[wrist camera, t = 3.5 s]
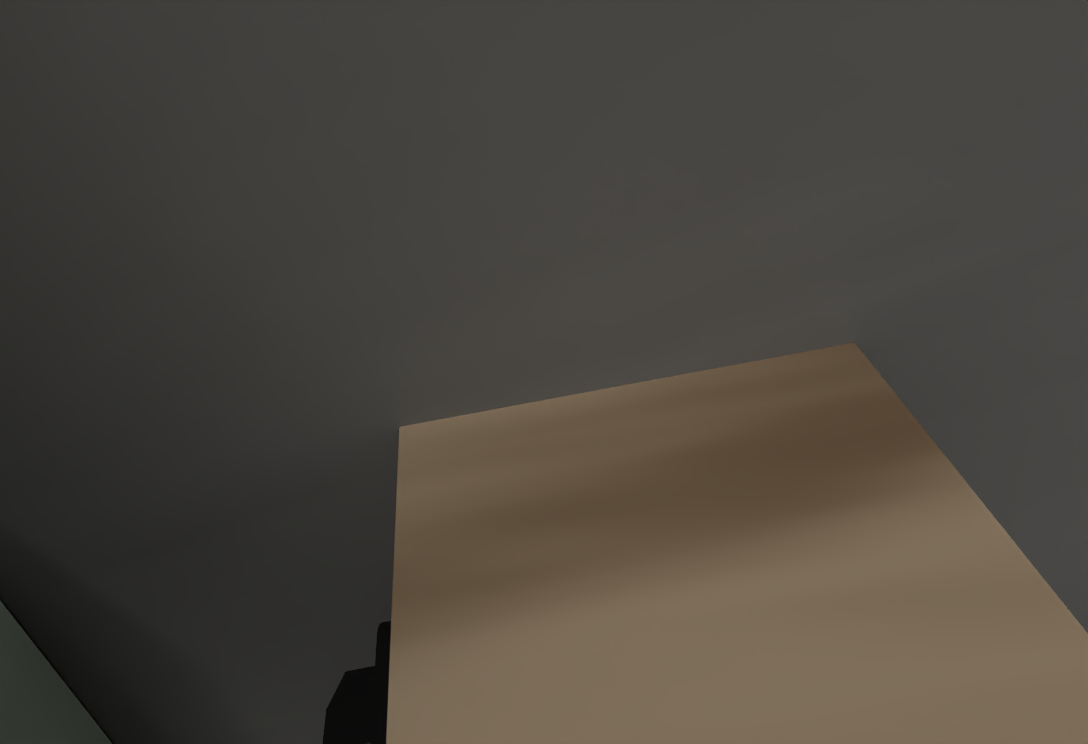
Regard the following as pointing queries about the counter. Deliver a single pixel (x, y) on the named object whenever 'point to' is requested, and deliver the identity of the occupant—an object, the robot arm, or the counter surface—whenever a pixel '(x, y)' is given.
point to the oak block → (716, 574)
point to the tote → (37, 696)
